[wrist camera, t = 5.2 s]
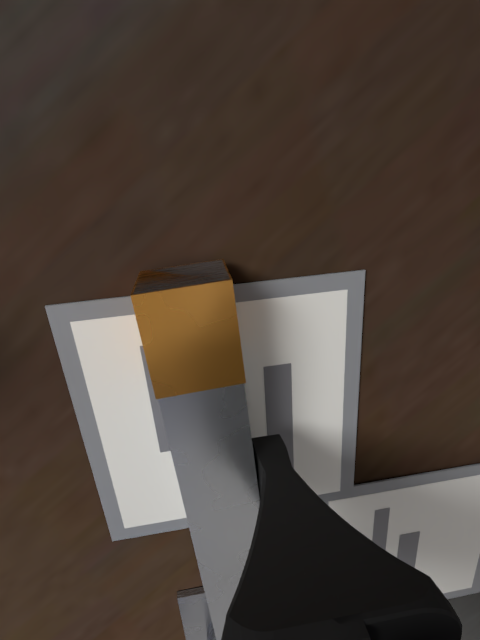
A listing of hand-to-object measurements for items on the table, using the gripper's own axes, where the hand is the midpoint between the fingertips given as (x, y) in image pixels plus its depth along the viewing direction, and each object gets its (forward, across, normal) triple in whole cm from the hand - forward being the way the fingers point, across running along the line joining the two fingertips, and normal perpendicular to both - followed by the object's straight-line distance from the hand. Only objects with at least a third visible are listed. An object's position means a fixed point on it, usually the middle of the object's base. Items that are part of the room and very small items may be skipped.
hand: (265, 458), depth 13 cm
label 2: (+1, -7, +8) cm, 11 cm away
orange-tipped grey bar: (+1, +2, +3) cm, 3 cm away
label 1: (+1, +1, -1) cm, 2 cm away
